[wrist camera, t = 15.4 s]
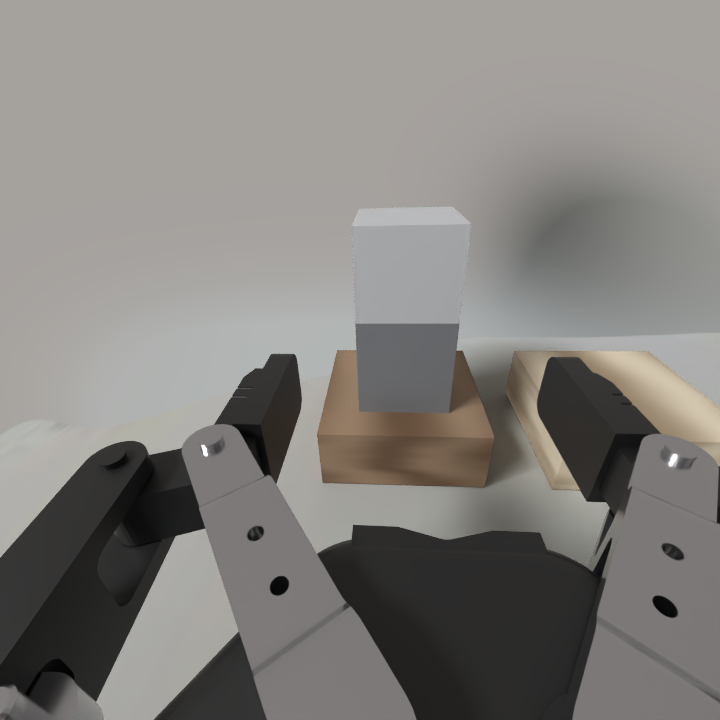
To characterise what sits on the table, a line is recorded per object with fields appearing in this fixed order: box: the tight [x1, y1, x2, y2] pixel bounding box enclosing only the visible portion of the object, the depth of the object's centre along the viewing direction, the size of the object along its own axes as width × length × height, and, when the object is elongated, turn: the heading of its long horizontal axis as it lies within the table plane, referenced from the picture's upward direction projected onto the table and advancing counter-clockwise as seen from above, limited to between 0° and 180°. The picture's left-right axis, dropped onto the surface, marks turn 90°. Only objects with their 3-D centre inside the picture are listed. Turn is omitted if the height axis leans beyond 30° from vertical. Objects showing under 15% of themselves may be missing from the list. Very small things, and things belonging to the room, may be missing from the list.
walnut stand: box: [317, 350, 495, 487], centre depth 26 cm, size 10×10×4 cm
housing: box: [352, 207, 471, 413], centre depth 22 cm, size 6×6×11 cm
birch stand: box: [506, 351, 720, 490], centre depth 25 cm, size 10×10×4 cm
